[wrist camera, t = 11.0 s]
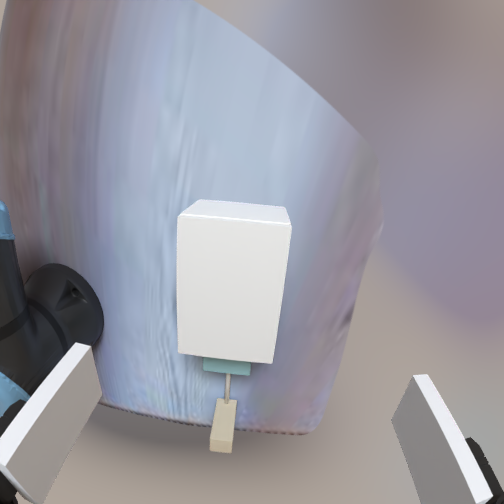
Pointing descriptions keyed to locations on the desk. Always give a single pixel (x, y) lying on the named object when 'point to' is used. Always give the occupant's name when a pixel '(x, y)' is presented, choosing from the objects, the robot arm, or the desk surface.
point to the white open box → (231, 279)
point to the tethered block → (224, 403)
